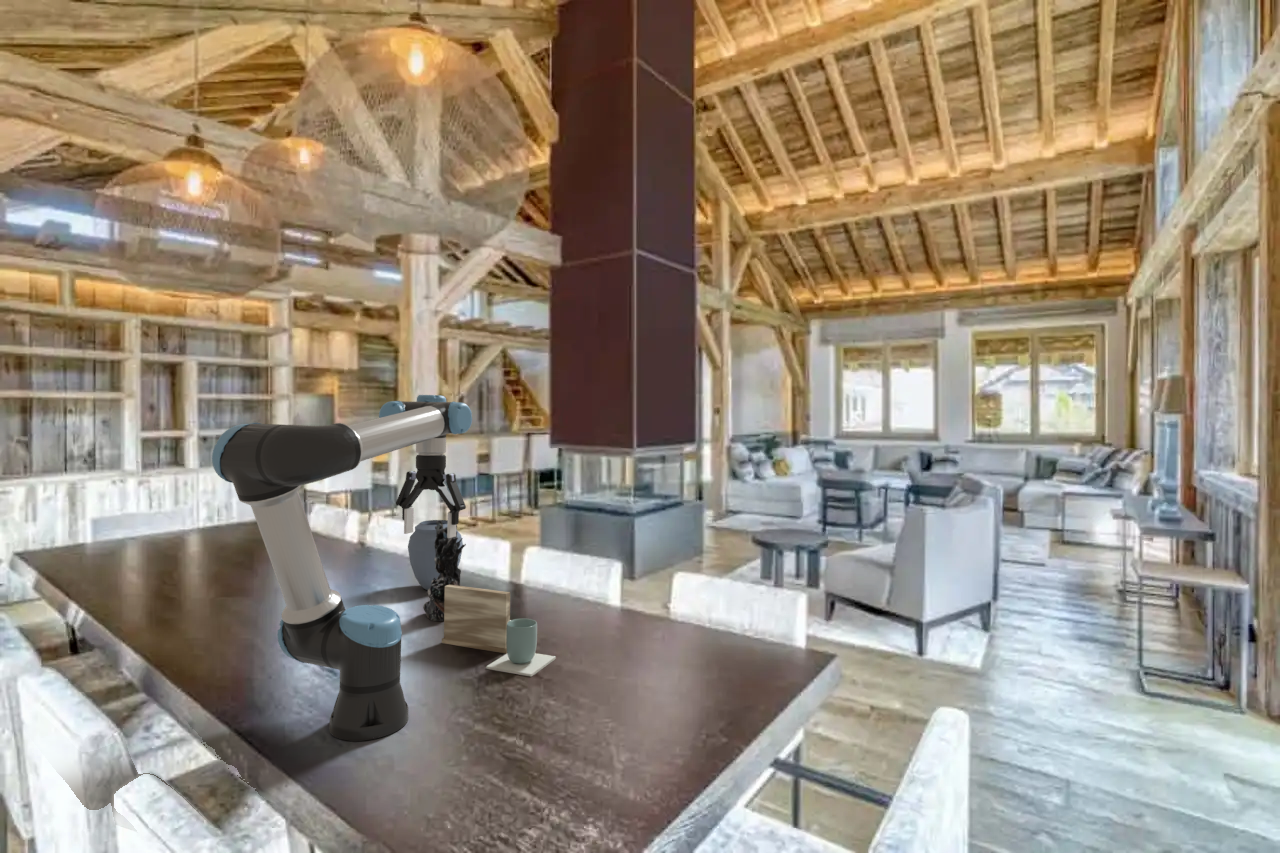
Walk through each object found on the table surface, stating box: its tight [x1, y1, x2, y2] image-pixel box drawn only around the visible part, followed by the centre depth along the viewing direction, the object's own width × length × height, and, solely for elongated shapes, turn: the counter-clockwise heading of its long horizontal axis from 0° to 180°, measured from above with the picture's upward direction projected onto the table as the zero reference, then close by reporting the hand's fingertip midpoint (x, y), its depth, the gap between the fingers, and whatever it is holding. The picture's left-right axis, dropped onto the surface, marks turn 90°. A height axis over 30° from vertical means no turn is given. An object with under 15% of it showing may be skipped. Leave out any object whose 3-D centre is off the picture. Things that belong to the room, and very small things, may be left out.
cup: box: [506, 618, 538, 664], centre depth 170 cm, size 8×8×10 cm
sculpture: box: [422, 519, 467, 622], centre depth 208 cm, size 14×15×30 cm
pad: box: [485, 652, 557, 678], centre depth 170 cm, size 13×13×1 cm
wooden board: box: [441, 585, 511, 654], centre depth 182 cm, size 3×21×16 cm, turn 70°
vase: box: [407, 519, 464, 591], centre depth 242 cm, size 20×20×24 cm
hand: (429, 535), depth 171 cm, fingers open, 13 cm apart
